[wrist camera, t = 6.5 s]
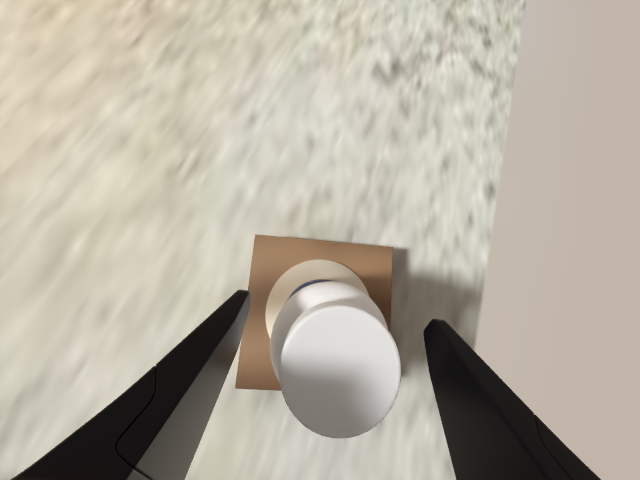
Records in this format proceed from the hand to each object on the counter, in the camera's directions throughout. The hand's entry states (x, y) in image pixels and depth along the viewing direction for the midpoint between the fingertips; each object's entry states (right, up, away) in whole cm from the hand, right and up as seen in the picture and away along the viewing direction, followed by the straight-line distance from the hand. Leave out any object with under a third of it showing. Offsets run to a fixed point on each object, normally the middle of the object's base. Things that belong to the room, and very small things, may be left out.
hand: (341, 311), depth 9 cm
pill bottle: (-1, -3, +8) cm, 8 cm away
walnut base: (-1, -3, +10) cm, 11 cm away
